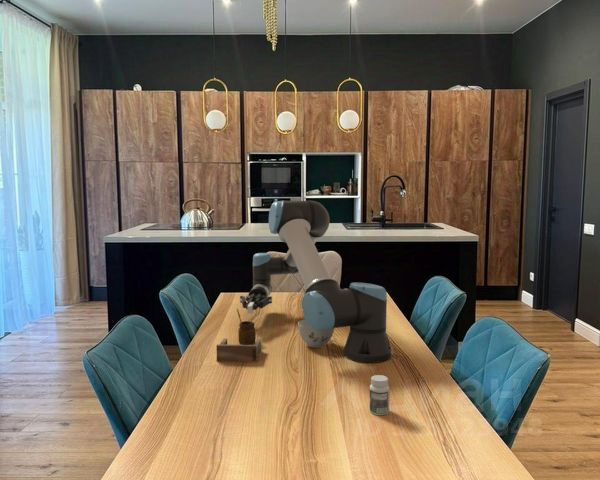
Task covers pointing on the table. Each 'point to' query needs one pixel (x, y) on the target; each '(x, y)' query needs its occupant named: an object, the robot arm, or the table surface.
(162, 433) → the table surface
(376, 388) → the pill bottle
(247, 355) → the walnut corral
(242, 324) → the utensil holder
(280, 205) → the robot arm
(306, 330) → the teacup
